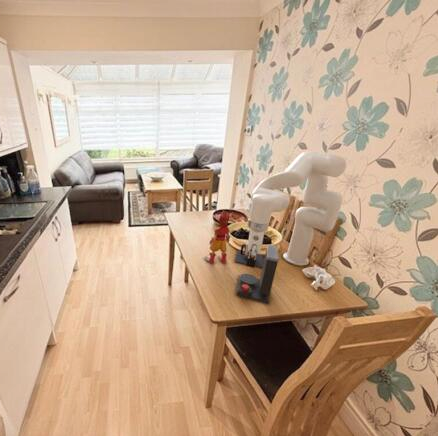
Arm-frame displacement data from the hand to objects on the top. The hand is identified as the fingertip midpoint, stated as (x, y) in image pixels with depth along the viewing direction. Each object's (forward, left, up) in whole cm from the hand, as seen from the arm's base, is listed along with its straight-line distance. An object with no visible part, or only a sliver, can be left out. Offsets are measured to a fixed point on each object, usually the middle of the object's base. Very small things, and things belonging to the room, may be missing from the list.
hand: (250, 261), depth 103 cm
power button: (0, 0, -15) cm, 15 cm away
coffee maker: (-5, +4, -18) cm, 19 cm away
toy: (-23, -16, -18) cm, 34 cm away
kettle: (-31, -1, -17) cm, 35 cm away
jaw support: (-22, +33, -18) cm, 43 cm away
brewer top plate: (-32, +1, -18) cm, 37 cm away
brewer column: (-6, +4, -15) cm, 16 cm away
